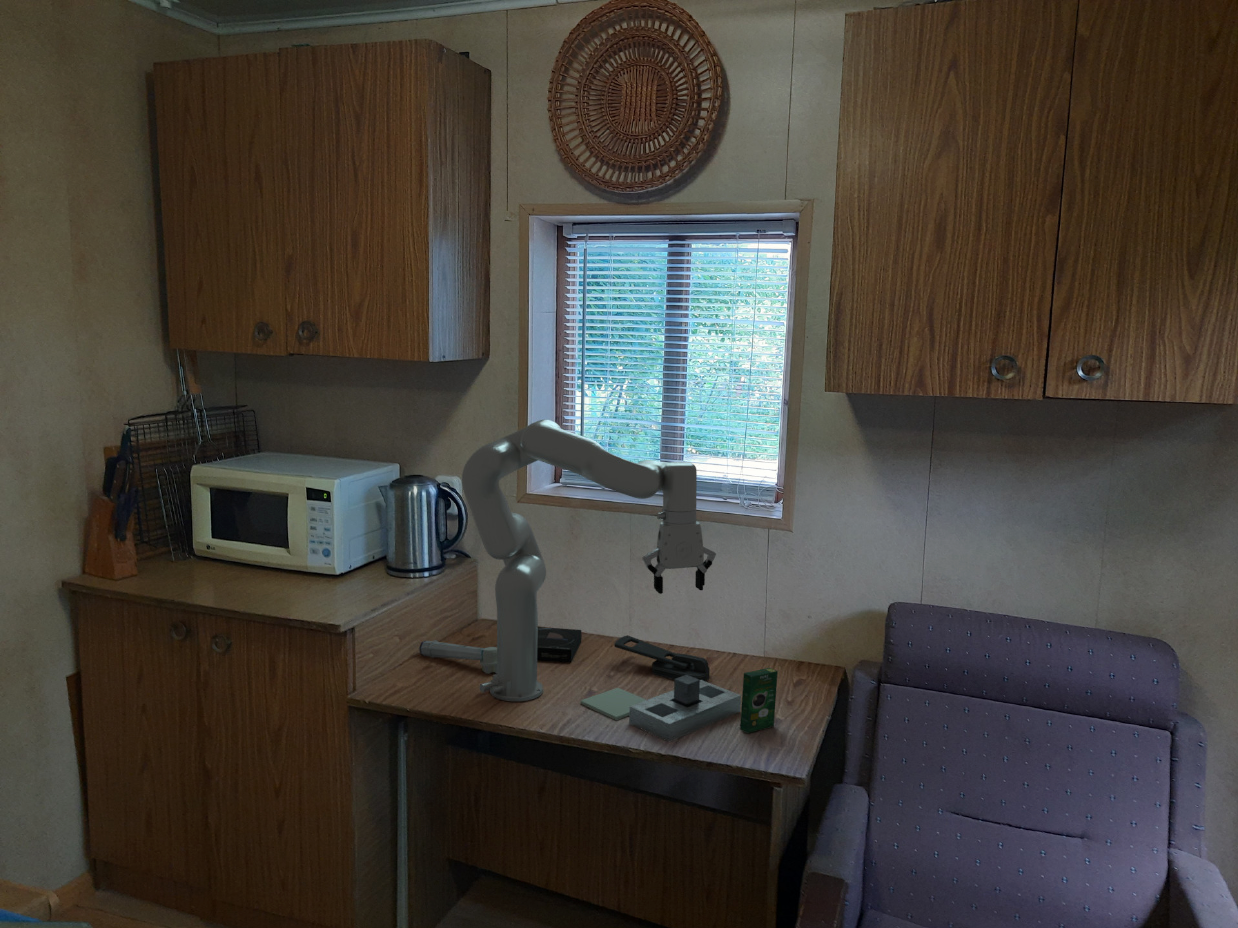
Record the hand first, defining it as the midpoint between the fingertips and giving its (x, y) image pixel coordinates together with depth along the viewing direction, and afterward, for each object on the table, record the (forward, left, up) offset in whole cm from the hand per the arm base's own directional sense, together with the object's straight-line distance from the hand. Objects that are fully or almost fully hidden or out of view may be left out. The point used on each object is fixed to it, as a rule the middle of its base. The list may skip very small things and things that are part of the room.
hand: (679, 590), depth 208 cm
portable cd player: (+1, +48, -28) cm, 55 cm away
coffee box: (+5, -20, -28) cm, 35 cm away
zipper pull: (+13, +17, -28) cm, 35 cm away
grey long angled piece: (-23, +54, -28) cm, 65 cm away
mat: (-10, +9, -27) cm, 31 cm away
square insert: (-3, -6, -28) cm, 28 cm away
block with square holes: (-3, -6, -27) cm, 28 cm away
